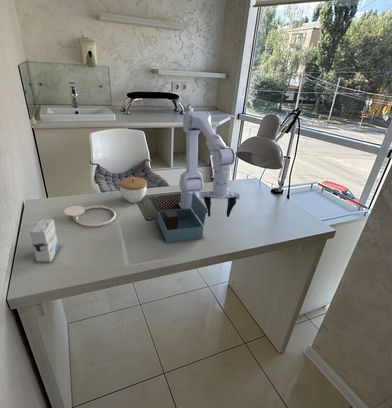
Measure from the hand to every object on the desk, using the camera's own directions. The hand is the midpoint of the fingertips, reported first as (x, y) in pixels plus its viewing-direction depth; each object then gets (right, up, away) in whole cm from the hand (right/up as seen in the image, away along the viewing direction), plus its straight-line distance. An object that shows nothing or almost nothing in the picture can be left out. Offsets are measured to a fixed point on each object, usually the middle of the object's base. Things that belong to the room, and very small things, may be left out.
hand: (218, 215), depth 113 cm
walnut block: (-19, -5, +9) cm, 22 cm away
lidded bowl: (-39, +8, +29) cm, 50 cm away
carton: (-16, -6, +9) cm, 19 cm away
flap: (-8, +3, +6) cm, 11 cm away
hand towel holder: (-53, -1, +12) cm, 55 cm away
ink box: (-60, -14, -11) cm, 63 cm away
